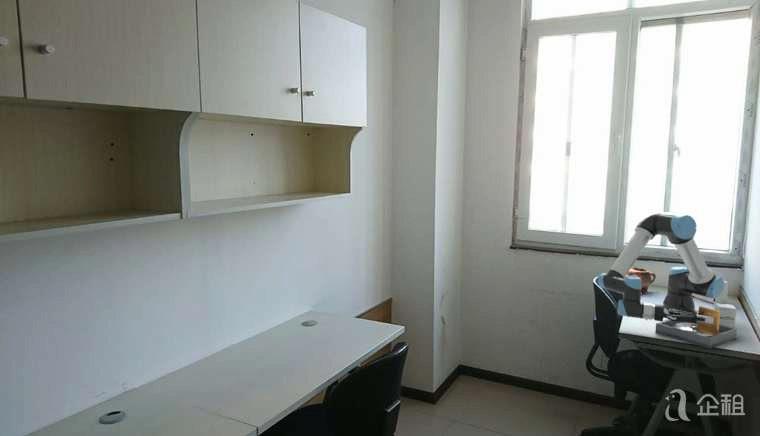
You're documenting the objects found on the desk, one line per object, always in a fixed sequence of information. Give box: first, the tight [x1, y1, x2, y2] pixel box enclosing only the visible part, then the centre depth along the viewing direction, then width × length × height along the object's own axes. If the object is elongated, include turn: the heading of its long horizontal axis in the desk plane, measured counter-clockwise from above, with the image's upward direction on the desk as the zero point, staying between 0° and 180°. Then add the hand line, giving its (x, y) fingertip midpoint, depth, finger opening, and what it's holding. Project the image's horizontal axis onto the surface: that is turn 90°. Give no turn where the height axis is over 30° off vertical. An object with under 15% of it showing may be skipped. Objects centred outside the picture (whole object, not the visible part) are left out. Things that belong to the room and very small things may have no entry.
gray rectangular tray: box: [654, 319, 738, 349], centre depth 238 cm, size 24×24×4 cm
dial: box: [674, 305, 720, 338], centre depth 237 cm, size 18×17×12 cm
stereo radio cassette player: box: [692, 280, 729, 305], centre depth 296 cm, size 21×8×20 cm, turn 13°
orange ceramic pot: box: [624, 267, 657, 294], centre depth 313 cm, size 20×12×14 cm, turn 104°
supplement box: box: [714, 303, 737, 328], centre depth 244 cm, size 7×7×13 cm
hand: (713, 320), depth 230 cm, fingers closed
